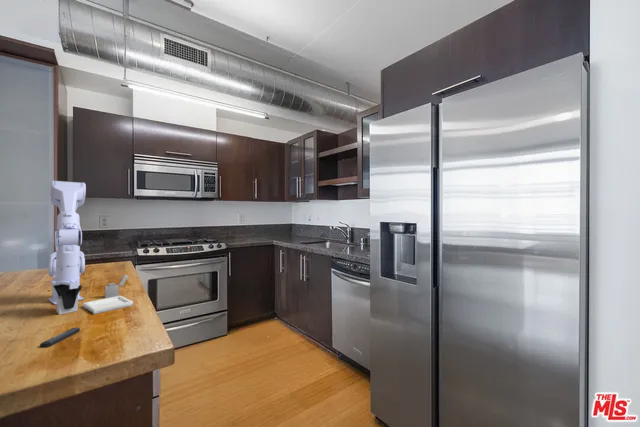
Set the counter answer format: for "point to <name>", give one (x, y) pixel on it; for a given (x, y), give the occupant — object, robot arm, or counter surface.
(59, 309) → the plug
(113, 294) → the lighter
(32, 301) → the counter surface
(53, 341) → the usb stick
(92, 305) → the dish
